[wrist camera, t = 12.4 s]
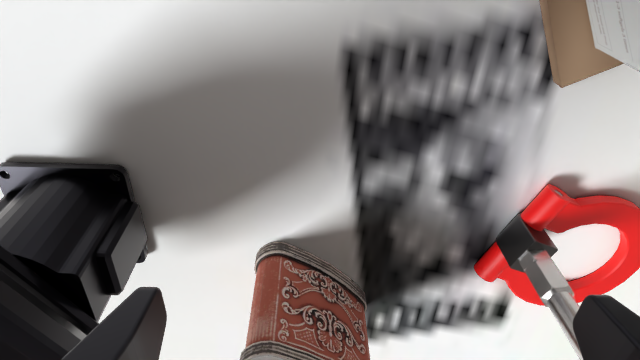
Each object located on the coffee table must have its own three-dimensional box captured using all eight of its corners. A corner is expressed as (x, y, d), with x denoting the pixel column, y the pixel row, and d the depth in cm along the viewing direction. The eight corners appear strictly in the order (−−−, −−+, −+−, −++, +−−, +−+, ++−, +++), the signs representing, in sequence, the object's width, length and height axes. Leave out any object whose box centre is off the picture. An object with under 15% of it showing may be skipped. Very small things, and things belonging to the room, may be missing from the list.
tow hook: (673, 216, 25) (552, 165, 23) (942, 459, 15) (775, 415, 12) (571, 304, 30) (460, 269, 27) (725, 542, 19) (566, 521, 17)
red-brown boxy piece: (244, 264, 26) (211, 435, 18) (278, 231, 25) (260, 401, 17) (342, 319, 29) (352, 488, 21) (377, 293, 28) (404, 463, 20)
